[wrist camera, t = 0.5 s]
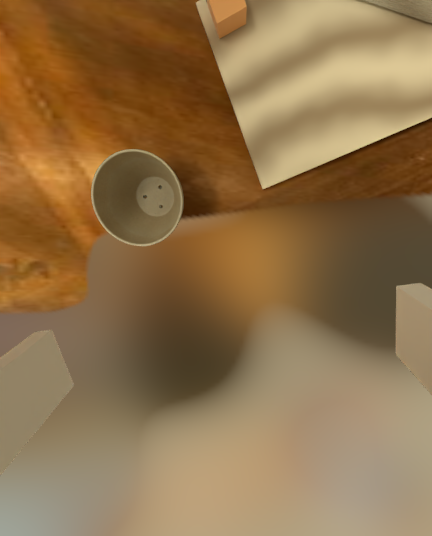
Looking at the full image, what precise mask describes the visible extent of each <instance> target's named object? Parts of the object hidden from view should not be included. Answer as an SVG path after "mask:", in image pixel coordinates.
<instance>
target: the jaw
mask: <svg viewBox="0 0 432 536" xmlns="http://www.w3.org/2000/svg"><path fill="white" fill-rule="evenodd" d="M364 1H367V2H370V3H373V4H376V5H379V6H382V7H385V8H388V9H391V10H393V11H396V12H399V13H402V14H405V15H408V16H411V17H414V18H417V19H420V20H423V21H426V22H429V23H432V0H364Z"/></svg>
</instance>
